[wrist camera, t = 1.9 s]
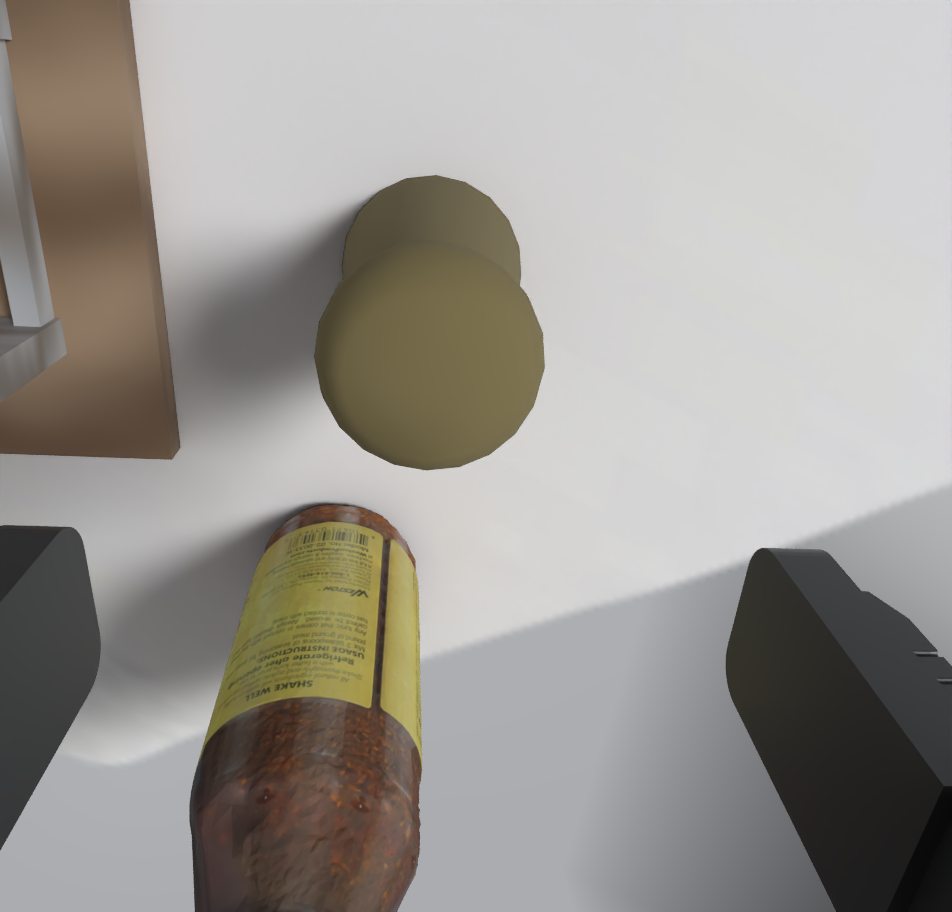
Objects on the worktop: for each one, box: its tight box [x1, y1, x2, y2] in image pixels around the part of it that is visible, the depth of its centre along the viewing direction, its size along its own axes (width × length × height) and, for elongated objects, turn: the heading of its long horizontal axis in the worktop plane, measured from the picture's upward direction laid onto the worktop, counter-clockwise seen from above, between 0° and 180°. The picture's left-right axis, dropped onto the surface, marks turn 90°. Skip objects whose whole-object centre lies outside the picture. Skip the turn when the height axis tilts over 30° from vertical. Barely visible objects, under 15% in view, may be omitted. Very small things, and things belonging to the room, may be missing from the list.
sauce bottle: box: [190, 504, 422, 912], centre depth 22 cm, size 7×6×20 cm
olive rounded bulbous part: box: [314, 175, 545, 470], centre depth 21 cm, size 6×6×11 cm
